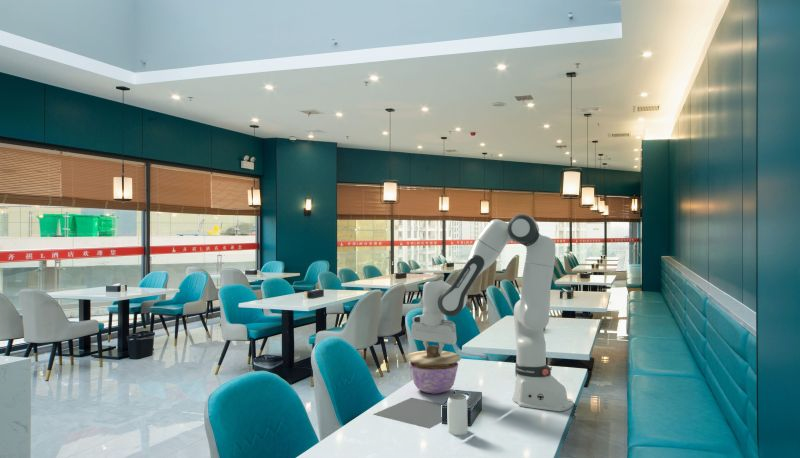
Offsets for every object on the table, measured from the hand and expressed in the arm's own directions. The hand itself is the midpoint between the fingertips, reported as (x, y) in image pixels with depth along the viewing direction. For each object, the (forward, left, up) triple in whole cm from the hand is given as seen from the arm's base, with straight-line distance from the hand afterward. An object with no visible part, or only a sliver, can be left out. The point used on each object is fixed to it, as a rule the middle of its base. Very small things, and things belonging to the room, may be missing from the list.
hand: (433, 352), depth 223 cm
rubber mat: (-10, +25, -16) cm, 31 cm away
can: (-31, +34, -16) cm, 49 cm away
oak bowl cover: (0, 0, -2) cm, 2 cm away
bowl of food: (0, 0, -16) cm, 16 cm away
